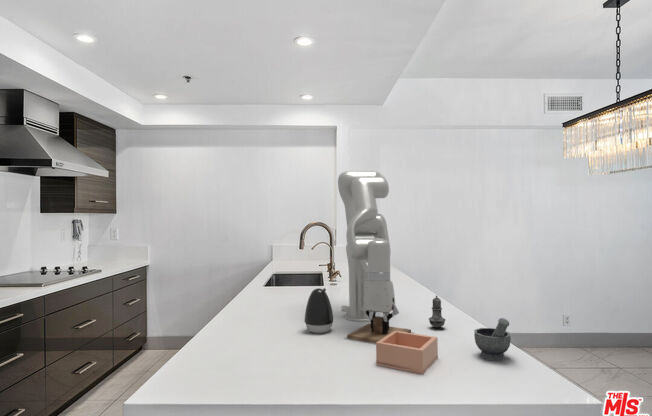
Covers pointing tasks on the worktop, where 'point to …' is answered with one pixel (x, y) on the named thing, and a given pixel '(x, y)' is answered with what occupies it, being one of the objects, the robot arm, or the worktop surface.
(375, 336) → the walnut lid
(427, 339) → the open terracotta box
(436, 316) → the dark stone chess piece
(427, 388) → the worktop surface
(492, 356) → the mortar and pestle
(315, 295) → the dark grey egg shape
